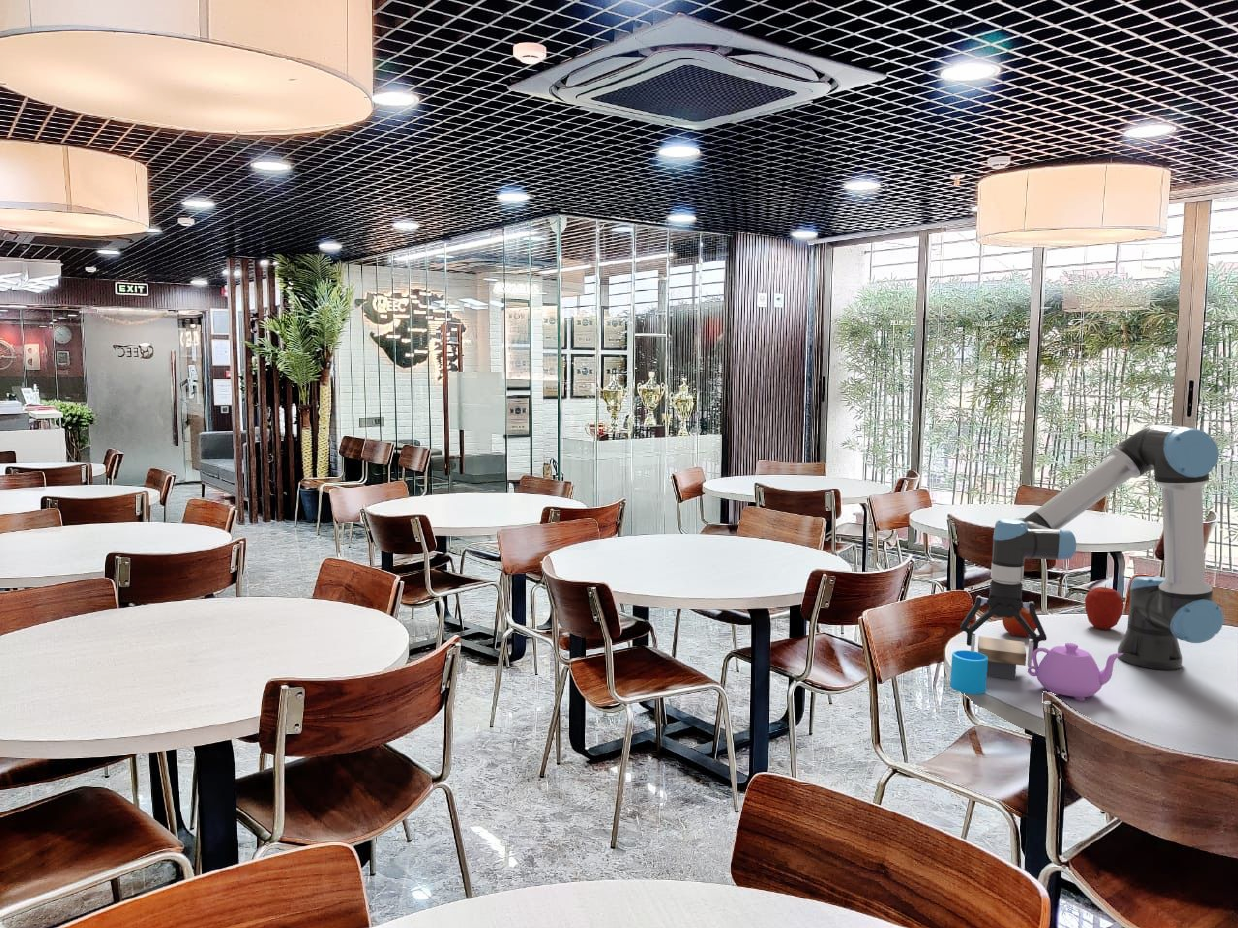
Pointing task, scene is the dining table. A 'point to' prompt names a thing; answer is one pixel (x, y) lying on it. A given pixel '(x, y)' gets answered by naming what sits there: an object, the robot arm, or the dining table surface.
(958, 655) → the mug
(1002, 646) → the block
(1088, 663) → the teapot
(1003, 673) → the block
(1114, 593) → the apple
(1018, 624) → the fruit
